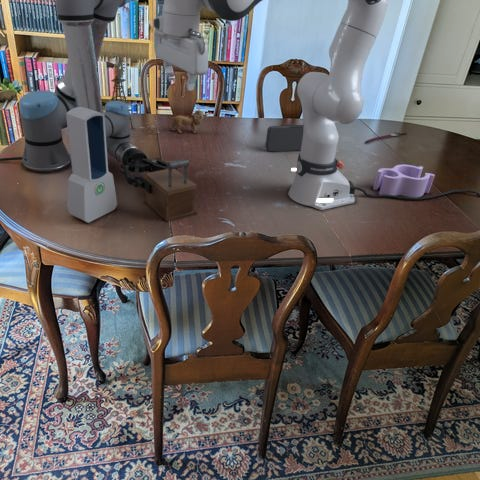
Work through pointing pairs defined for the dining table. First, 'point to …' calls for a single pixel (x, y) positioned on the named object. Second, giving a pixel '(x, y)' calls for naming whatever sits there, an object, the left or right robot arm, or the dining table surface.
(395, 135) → the sword
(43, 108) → the left robot arm
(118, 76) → the miniature windmill
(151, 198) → the chest
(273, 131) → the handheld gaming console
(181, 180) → the lid
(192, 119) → the lion figurine
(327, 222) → the dining table surface
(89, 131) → the electronic device
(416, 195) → the clip
